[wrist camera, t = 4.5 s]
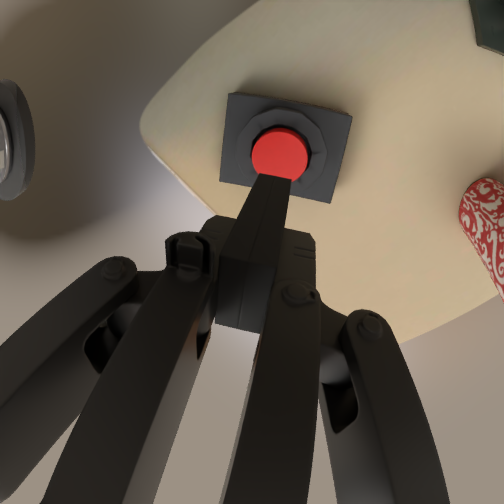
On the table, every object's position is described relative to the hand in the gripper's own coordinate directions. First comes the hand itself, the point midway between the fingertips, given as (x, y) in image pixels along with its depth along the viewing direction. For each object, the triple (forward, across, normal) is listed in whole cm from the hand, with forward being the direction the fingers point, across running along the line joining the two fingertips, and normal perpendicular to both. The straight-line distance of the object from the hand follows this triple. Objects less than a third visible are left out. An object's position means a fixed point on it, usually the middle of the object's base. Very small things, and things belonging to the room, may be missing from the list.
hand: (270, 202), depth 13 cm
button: (+9, 0, 0) cm, 9 cm away
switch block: (+13, 0, 0) cm, 13 cm away
